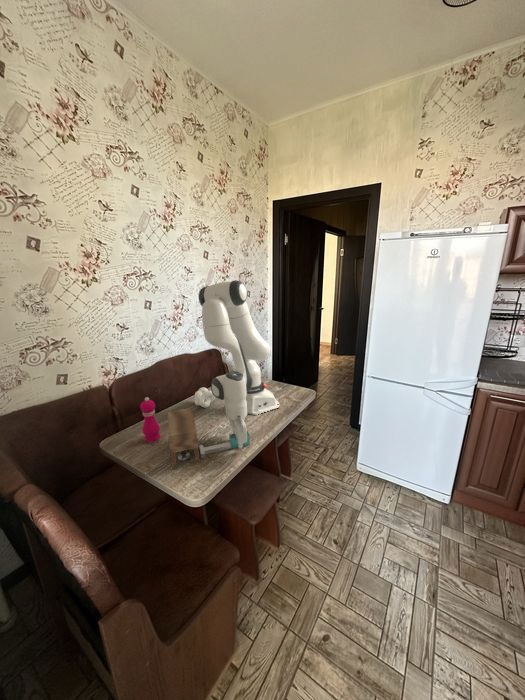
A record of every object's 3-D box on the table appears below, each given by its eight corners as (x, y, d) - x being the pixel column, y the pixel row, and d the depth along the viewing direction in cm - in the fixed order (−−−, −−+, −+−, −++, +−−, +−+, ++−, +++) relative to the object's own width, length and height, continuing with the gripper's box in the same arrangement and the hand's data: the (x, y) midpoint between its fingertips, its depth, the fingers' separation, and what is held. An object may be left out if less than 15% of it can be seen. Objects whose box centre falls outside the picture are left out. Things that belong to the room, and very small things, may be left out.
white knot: (188, 405, 156) (187, 390, 153) (205, 398, 165) (204, 384, 162) (201, 411, 149) (200, 395, 146) (218, 403, 158) (217, 388, 155)
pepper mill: (150, 444, 120) (144, 402, 115) (140, 440, 124) (133, 398, 119) (164, 436, 126) (159, 395, 121) (154, 432, 130) (148, 392, 124)
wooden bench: (194, 435, 126) (191, 407, 122) (199, 463, 107) (196, 430, 104) (171, 440, 123) (167, 411, 119) (172, 469, 104) (168, 436, 101)
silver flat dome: (189, 453, 114) (189, 450, 114) (190, 459, 110) (190, 457, 110) (177, 455, 113) (177, 453, 112) (178, 462, 109) (178, 459, 108)
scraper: (246, 439, 122) (246, 429, 121) (250, 446, 117) (250, 436, 115) (199, 449, 116) (198, 438, 115) (201, 457, 111) (200, 447, 109)
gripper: (250, 421, 105) (251, 453, 109) (238, 399, 124) (239, 427, 128) (234, 424, 103) (235, 456, 107) (224, 402, 122) (226, 430, 126)
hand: (237, 440), depth 118 cm, fingers open, 8 cm apart
